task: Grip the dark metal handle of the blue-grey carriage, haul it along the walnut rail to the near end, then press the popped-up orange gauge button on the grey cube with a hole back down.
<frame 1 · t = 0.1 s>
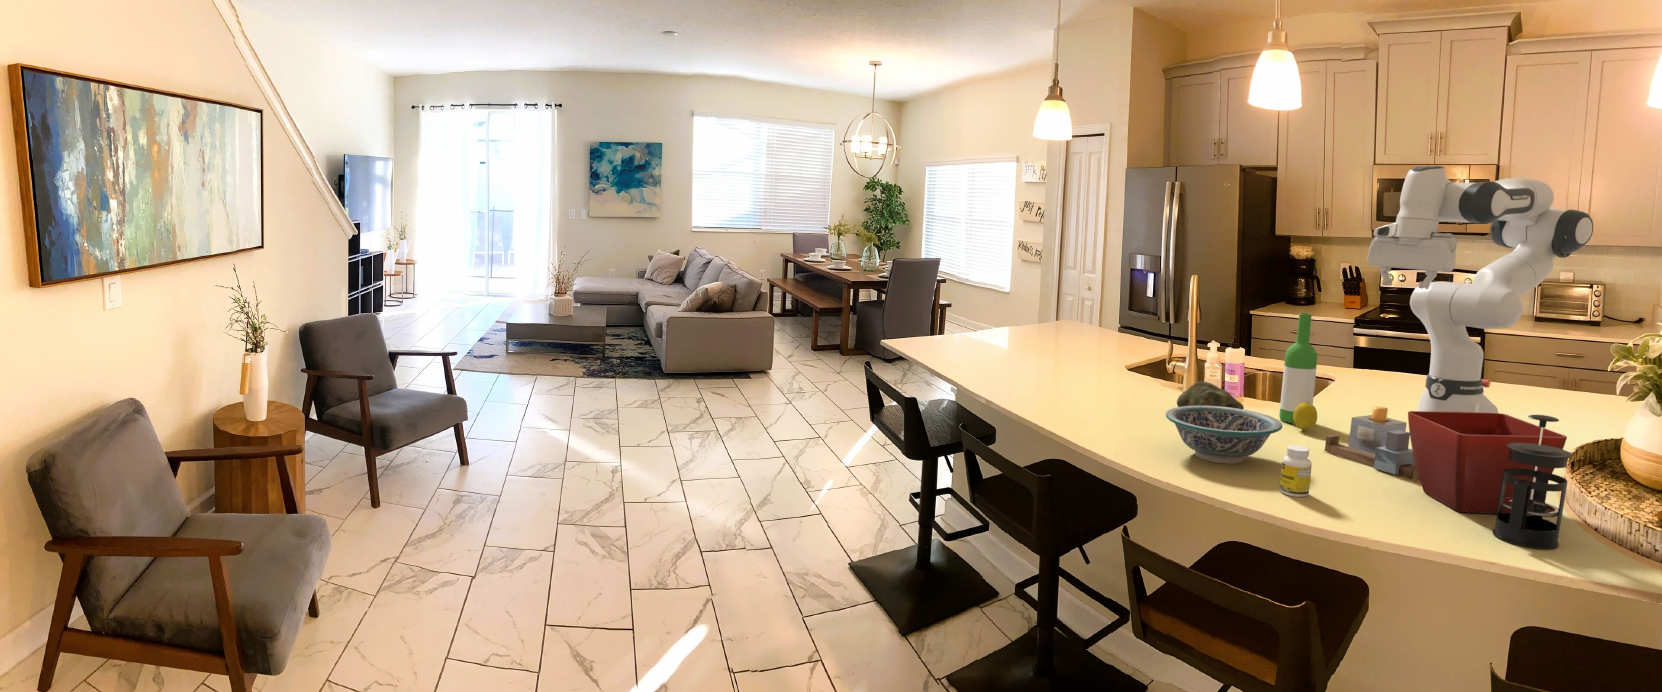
hand: (1404, 287, 214), 39 cm above the countertop, tool pointing down, fingers open, 8 cm apart
wine bottle: (1294, 422, 236), on the countertop
plant pot: (1471, 504, 173), on the countertop
gauge button: (1379, 417, 206), point 9 cm above the countertop, slide at 0.0 cm
carriage: (1396, 451, 193), point 5 cm above the countertop, slide at 12.0 cm
supplement bottle: (1293, 494, 179), on the countertop
french press: (1523, 541, 155), on the countertop
lemon: (1303, 431, 226), on the countertop
rail: (1373, 464, 198), on the countertop
decorative rock: (1207, 416, 241), on the countertop
bowl: (1219, 457, 203), on the countertop
grey cube with hole: (1375, 451, 208), on the countertop
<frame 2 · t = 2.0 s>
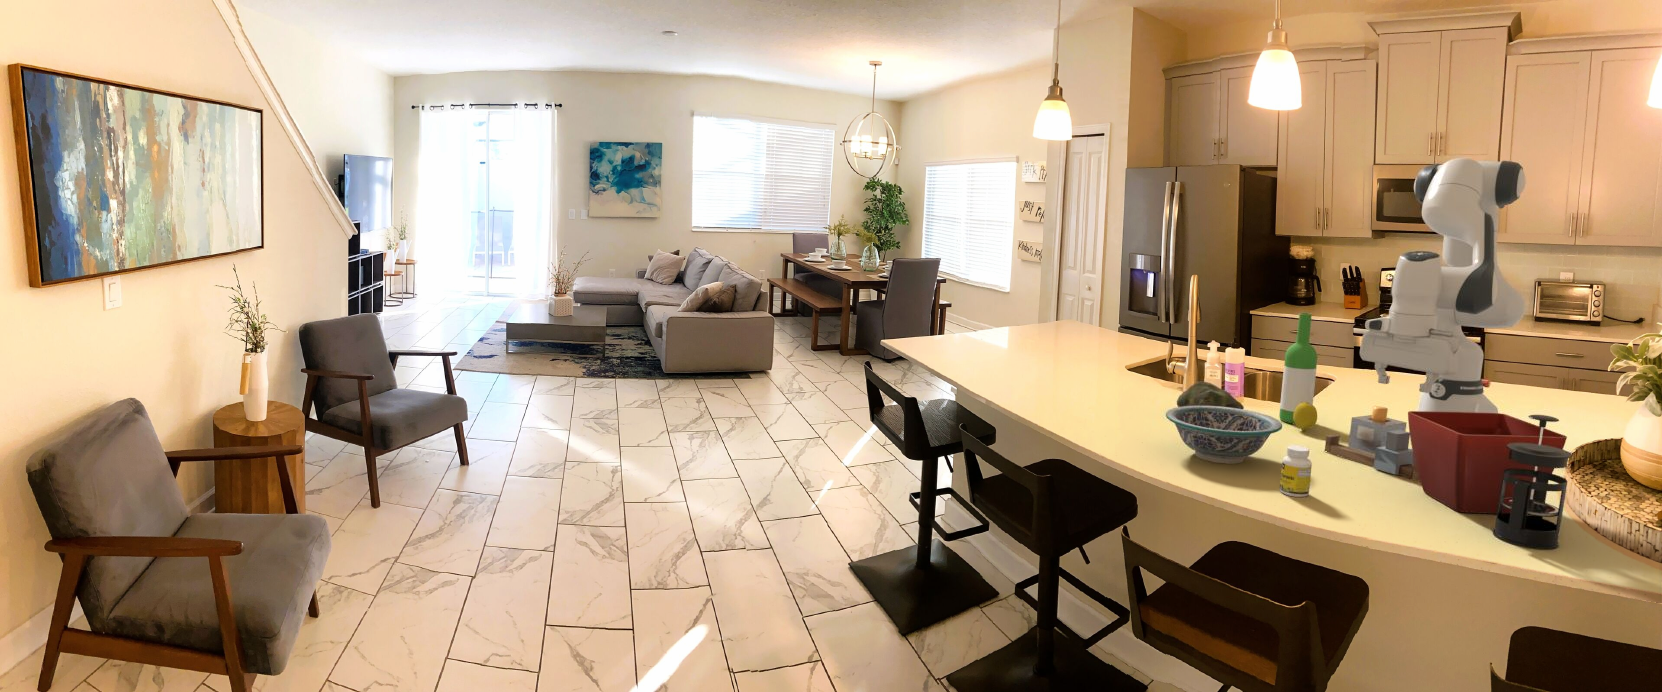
hand: (1403, 387, 190), 19 cm above the countertop, tool pointing down, fingers open, 8 cm apart
nothing on the countertop moved.
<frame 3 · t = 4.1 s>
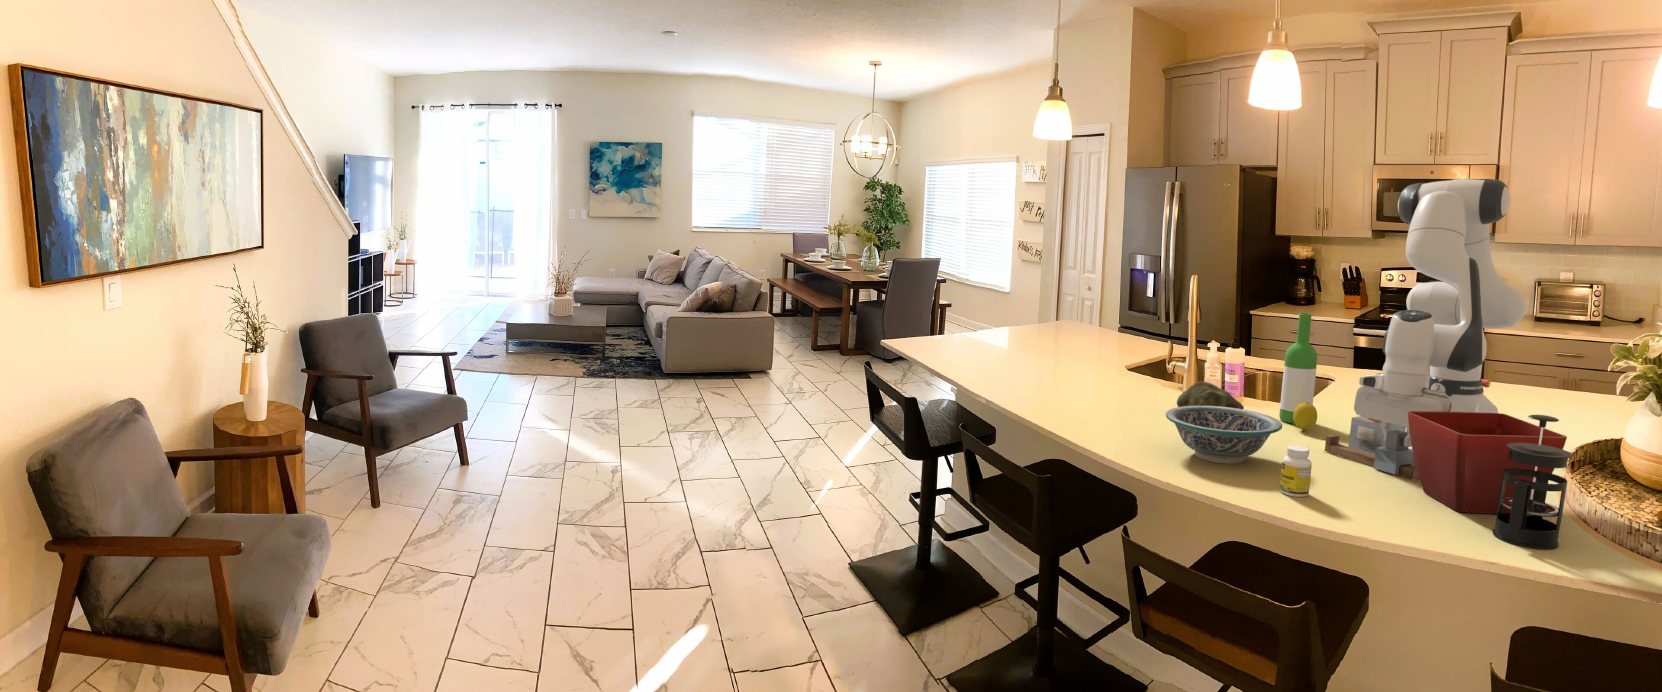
hand: (1397, 444, 192), 6 cm above the countertop, tool pointing down, fingers closed on carriage, 2 cm apart
carriage: (1396, 451, 193), point 5 cm above the countertop, slide at 12.0 cm, touching gripper
everything else where it was.
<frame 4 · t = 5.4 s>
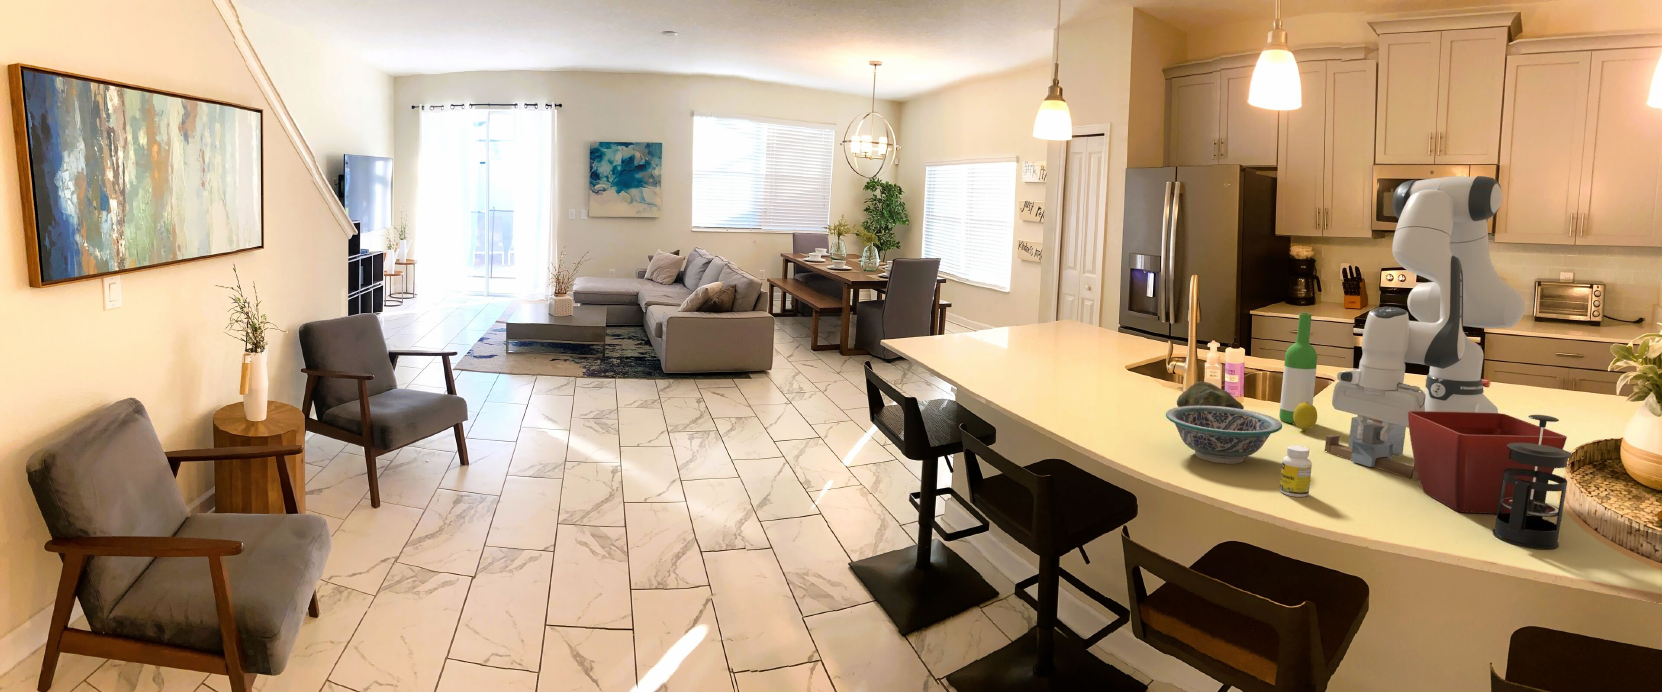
hand: (1373, 437, 198), 6 cm above the countertop, tool pointing down, fingers closed on carriage, 2 cm apart
carriage: (1372, 444, 198), point 5 cm above the countertop, slide at 6.3 cm, touching gripper
everything else where it was.
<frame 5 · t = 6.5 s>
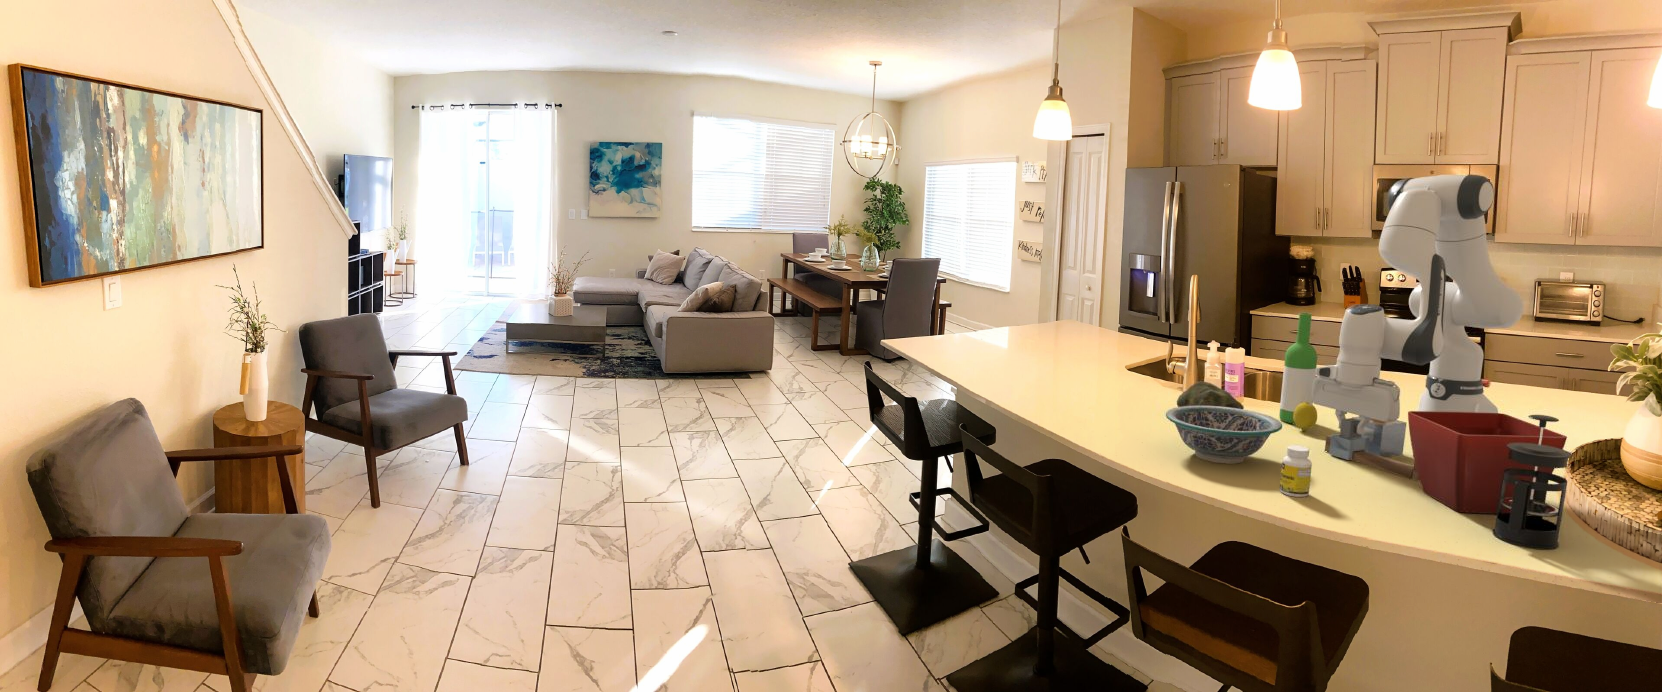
hand: (1350, 431, 203), 6 cm above the countertop, tool pointing down, fingers closed on carriage, 2 cm apart
carriage: (1350, 437, 203), point 5 cm above the countertop, slide at 0.6 cm, touching gripper
everything else where it was.
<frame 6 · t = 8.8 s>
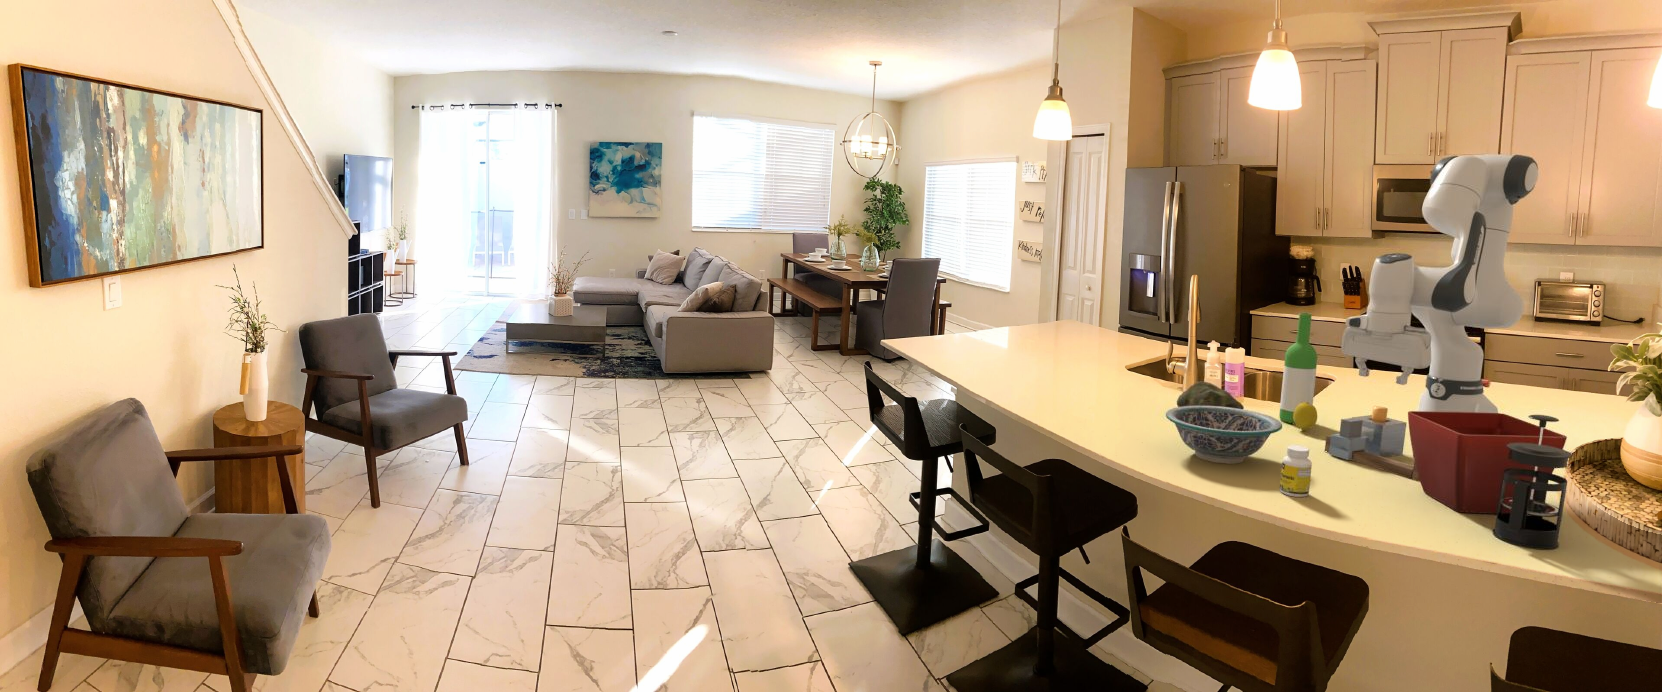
hand: (1382, 380, 205), 18 cm above the countertop, tool pointing down, fingers open, 8 cm apart
carriage: (1349, 437, 203), point 5 cm above the countertop, slide at 0.6 cm
everything else where it was.
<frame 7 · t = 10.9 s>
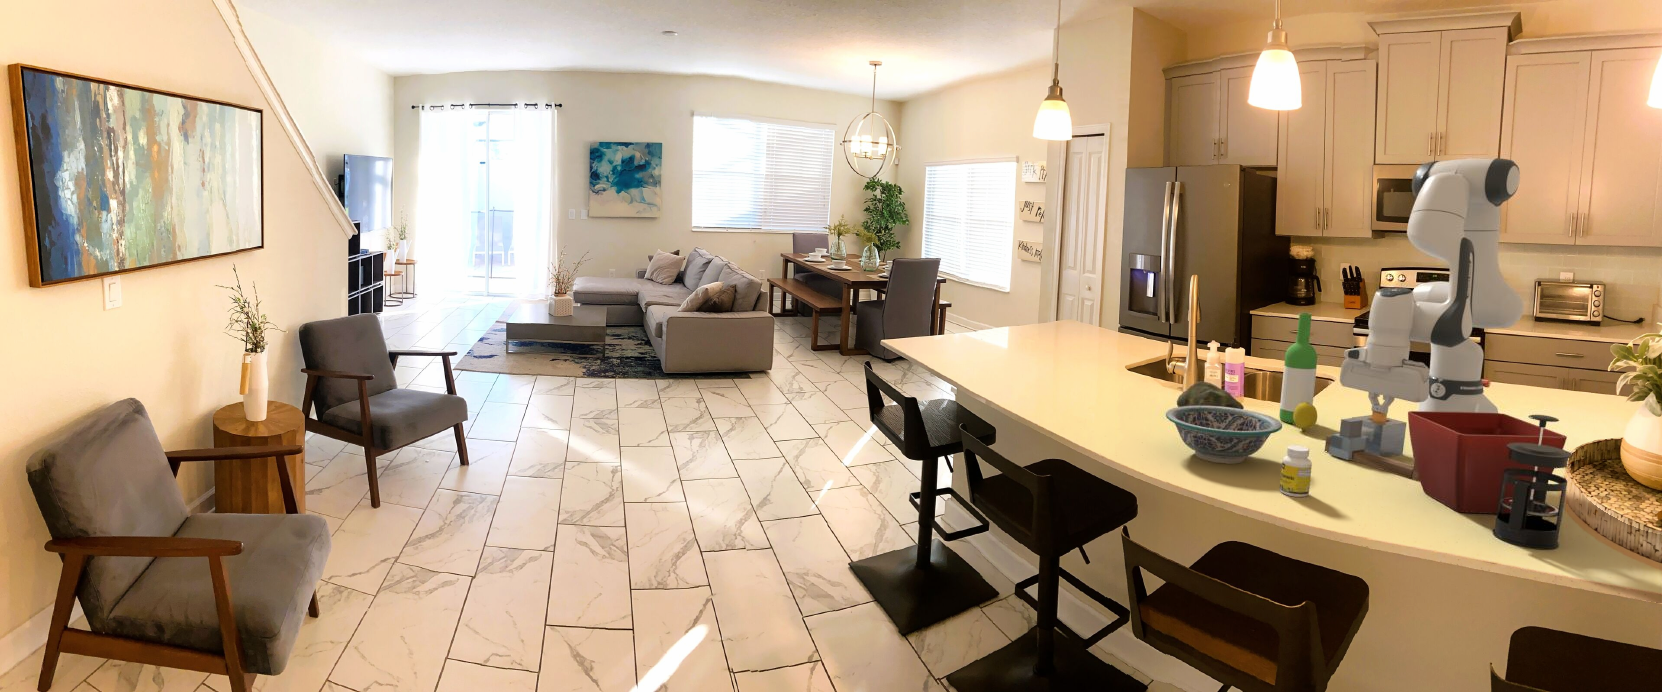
hand: (1379, 412, 206), 10 cm above the countertop, tool pointing down, fingers closed, pressing on gauge button
gauge button: (1378, 422, 207), point 7 cm above the countertop, slide at 1.2 cm, touching gripper
everything else where it was.
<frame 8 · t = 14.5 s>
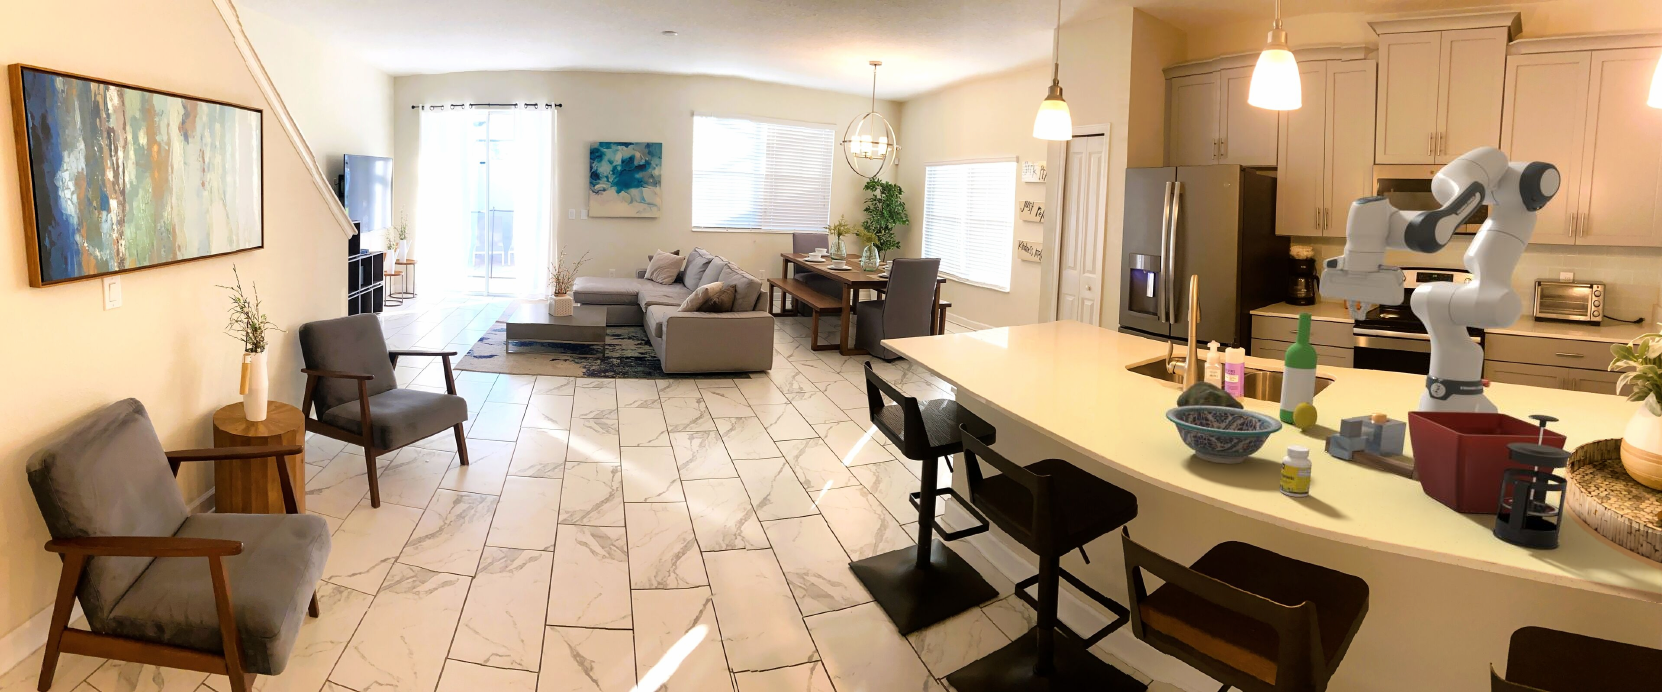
hand: (1357, 319, 212), 31 cm above the countertop, tool pointing down, fingers closed
gauge button: (1378, 424, 207), point 7 cm above the countertop, slide at 1.7 cm
everything else where it was.
at the end: carriage slide at 0.6 cm; gauge button slide at 1.7 cm; the gripper is holding nothing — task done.
